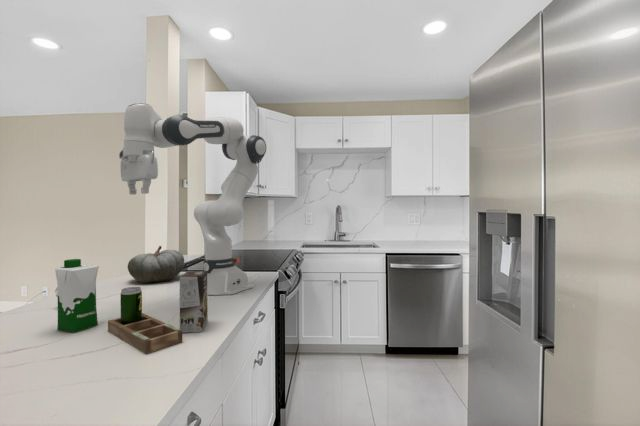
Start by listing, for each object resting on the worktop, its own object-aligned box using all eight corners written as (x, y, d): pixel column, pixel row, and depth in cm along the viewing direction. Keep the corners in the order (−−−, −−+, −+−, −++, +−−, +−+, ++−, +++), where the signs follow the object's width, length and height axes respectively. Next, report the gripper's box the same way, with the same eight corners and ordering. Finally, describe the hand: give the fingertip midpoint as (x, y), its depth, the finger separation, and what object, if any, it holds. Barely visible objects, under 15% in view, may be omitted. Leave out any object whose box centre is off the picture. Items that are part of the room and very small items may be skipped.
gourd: (195, 274, 162) (188, 240, 161) (142, 292, 144) (133, 254, 143) (175, 273, 179) (168, 242, 178) (125, 288, 162) (117, 254, 161)
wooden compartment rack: (141, 322, 101) (141, 312, 101) (182, 341, 86) (182, 329, 86) (108, 330, 94) (107, 319, 94) (146, 354, 79) (146, 340, 79)
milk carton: (82, 320, 102) (82, 257, 102) (103, 324, 99) (102, 259, 99) (51, 330, 94) (51, 261, 94) (72, 334, 91) (72, 263, 91)
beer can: (121, 334, 91) (120, 292, 91) (120, 328, 95) (120, 288, 95) (143, 330, 94) (142, 289, 94) (141, 325, 98) (140, 285, 98)
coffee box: (202, 332, 93) (202, 275, 93) (179, 333, 92) (178, 276, 92) (208, 321, 102) (208, 269, 102) (186, 322, 101) (186, 270, 101)
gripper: (163, 150, 104) (163, 193, 104) (136, 156, 117) (136, 195, 117) (142, 147, 99) (142, 192, 99) (116, 154, 112) (116, 194, 112)
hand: (138, 194), depth 108 cm, fingers open, 8 cm apart
